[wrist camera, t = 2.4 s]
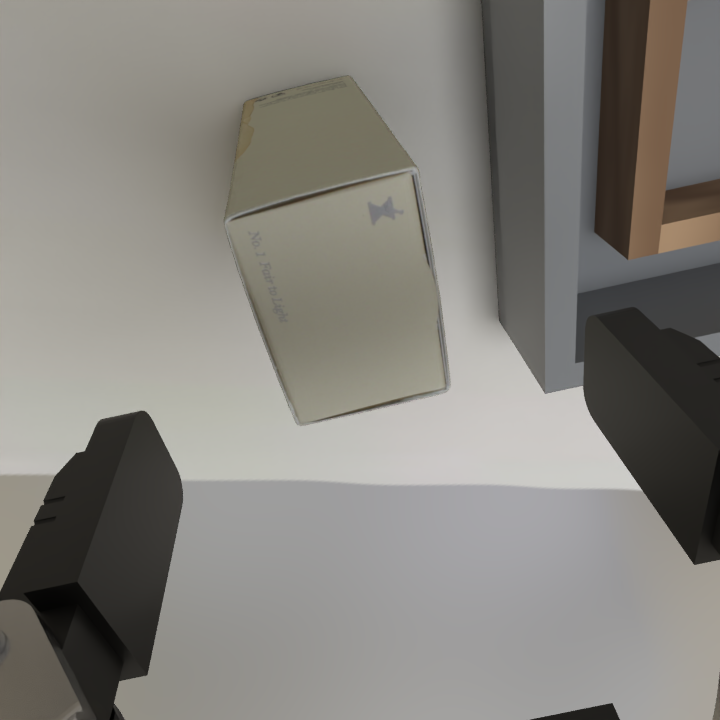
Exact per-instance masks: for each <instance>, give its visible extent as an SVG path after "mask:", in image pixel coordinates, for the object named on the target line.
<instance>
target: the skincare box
mask: <svg viewBox="0 0 720 720" xmlns="http://www.w3.org/2000/svg"><path fill="white" fill-rule="evenodd" d="M224 225H225V230H226V233H227V237H228V240H229V243H230V247H231V250H232V253H233V256H234V259H235V262H236V266H237V269H238V272H239V275H240V277H241V280H242V283H243V286H244V289H245V292H246V295H247V298H248V300H249V303H250V306H251V309H252V312H253V315H254V318H255V320H256V323H257V326H258V329H259V331H260V333H261V336H262V339H263V342H264V344H265V347H266V350H267V352H268V355H269V357H270V360H271V363H272V365H273V368H274V370H275V373H276V376H277V378H278V381H279V383H280V386H281V388H282V390H283V393H284V395H285V398H286V401H287V403H288V406H289V408H290V410H291V412H292V415H293V417H294V420H295V422H296V423H297V424H298V425H300V426H302V425H308V424H313V423H318V422H322V421H326V420H331V419H335V418H340V417H345V416H349V415H354V414H359V413H362V412H367V411H372V410H376V409H380V408H385V407H389V406H393V405H398V404H402V403H406V402H410V401H414V400H418V399H423V398H427V397H431V396H435V395H439V394H443V393H445V392H447V391H448V390H449V388H450V373H449V364H448V355H447V347H446V340H445V331H444V323H443V315H442V308H441V300H440V293H439V287H438V281H437V275H436V269H435V263H434V256H433V250H432V244H431V238H430V233H429V227H428V221H427V215H426V209H425V204H424V199H423V194H422V188H421V182H420V174H419V170H418V168H417V166H416V165H415V164H414V162H413V161H412V159H411V158H410V157H409V155H408V154H407V153H406V151H405V150H404V149H403V147H402V146H401V145H400V143H399V142H398V140H397V139H396V138H395V136H394V135H393V133H392V132H391V131H390V129H389V128H388V126H387V125H386V124H385V122H384V121H383V120H382V118H381V117H380V116H379V114H378V113H377V111H376V110H375V109H374V107H373V106H372V104H371V103H370V101H369V100H368V99H367V97H366V96H365V95H364V94H363V92H362V91H361V89H360V88H359V87H358V85H357V84H356V82H355V81H354V80H353V78H352V77H351V76H344V77H340V78H335V79H331V80H326V81H322V82H317V83H313V84H308V85H304V86H300V87H297V88H292V89H288V90H284V91H280V92H277V93H273V94H269V95H266V96H263V97H259V98H255V99H252V100H249V101H246V102H245V103H244V106H243V112H242V118H241V125H240V132H239V138H238V144H237V149H236V157H235V162H234V167H233V173H232V179H231V185H230V191H229V197H228V202H227V207H226V212H225V217H224Z"/></svg>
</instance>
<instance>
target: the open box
mask: <svg viewBox="0 0 720 720" xmlns="http://www.w3.org/2000/svg"><path fill="white" fill-rule="evenodd" d="M604 16H605V0H482V17H483V35H484V53H485V71H486V90H487V108H488V126H489V144H490V162H491V180H492V198H493V216H494V234H495V252H496V270H497V289H498V307H499V321H500V323H501V324H502V326H503V327H504V329H505V331H506V332H507V334H508V335H509V337H510V339H511V340H512V342H513V343H514V345H515V347H516V348H517V350H518V351H519V353H520V354H521V356H522V358H523V359H524V361H525V362H526V364H527V366H528V367H529V369H530V370H531V372H532V374H533V375H534V377H535V378H536V380H537V382H538V383H539V385H540V386H541V388H542V389H543V391H544V393H545V394H546V393H551V392H555V391H560V390H565V389H569V388H574V387H579V386H583V376H584V346H585V325H586V321H587V319H588V317H589V316H592V315H596V314H601V313H605V312H610V311H615V310H619V309H624V308H629V307H635V308H637V309H639V310H640V311H641V312H642V313H643V314H644V315H645V316H646V317H647V318H648V319H649V320H650V321H652V322H653V323H654V324H655V325H656V326H657V327H658V328H659V329H660V330H661V329H666V328H673V329H675V330H677V331H679V332H682V333H684V334H686V335H689V336H691V337H693V338H695V339H698V340H700V341H701V342H702V343H703V344H705V345H706V346H707V347H708V348H709V349H710V350H711V351H713V352H714V353H715V354H716V355H717V356H720V240H719V241H714V242H710V243H705V244H700V245H696V246H691V247H687V248H682V249H677V250H673V251H668V252H664V253H659V254H654V255H650V256H645V257H641V258H636V259H631V260H627V259H626V258H625V257H624V256H622V255H621V254H620V253H619V252H618V251H616V250H615V249H614V248H613V247H612V246H610V245H609V244H608V243H607V242H605V241H604V240H603V239H602V238H601V237H599V236H598V235H597V234H596V233H594V226H595V205H596V184H597V163H598V142H599V121H600V100H601V79H602V58H603V37H604ZM716 179H720V0H688V1H687V10H686V18H685V27H684V36H683V44H682V53H681V62H680V70H679V79H678V87H677V96H676V105H675V113H674V122H673V130H672V139H671V148H670V156H669V165H668V173H667V182H666V190H671V189H675V188H680V187H684V186H689V185H693V184H698V183H703V182H707V181H712V180H716Z"/></svg>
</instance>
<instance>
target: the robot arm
mask: <svg viewBox="0 0 720 720" xmlns="http://www.w3.org/2000/svg"><path fill="white" fill-rule="evenodd" d="M583 390H584V397H585V401H586V404H587V407H588V410H589V412H590V415H591V416H592V418H593V420H594V421H595V423H596V424H597V426H598V427H599V429H600V430H601V431H602V433H603V434H604V436H605V437H606V439H607V440H608V441H609V443H610V444H611V446H612V447H613V449H614V450H615V452H616V453H617V454H618V456H619V457H620V459H621V460H622V462H623V463H624V464H625V466H626V467H627V469H628V470H629V472H630V473H631V475H632V476H633V477H634V479H635V480H636V482H637V483H638V485H639V486H640V487H641V489H642V490H643V492H644V493H645V494H646V496H647V498H648V499H649V500H650V502H651V503H652V505H653V506H654V507H655V509H656V510H657V512H658V513H659V515H660V516H661V518H662V519H663V521H664V522H665V523H666V525H667V526H668V528H669V529H670V531H671V532H672V533H673V535H674V536H675V538H676V539H677V541H678V542H679V544H680V545H681V546H682V548H683V549H684V551H685V552H686V554H687V555H688V557H689V558H690V559H691V561H692V562H693V564H694V565H696V564H701V563H705V562H711V561H716V560H720V357H718V356H717V355H716V354H715V353H714V352H713V351H711V350H710V349H709V348H708V347H707V346H706V345H705V344H703V343H702V342H701V341H700V340H698V339H695V338H693V337H691V336H689V335H686V334H684V333H682V332H679V331H677V330H675V329H673V328H666V329H661V330H660V329H659V328H658V327H657V326H656V325H655V324H654V323H653V322H652V321H650V320H649V319H648V318H647V317H646V316H645V315H644V314H643V313H642V312H641V311H640V310H639V309H637V308H635V307H629V308H624V309H619V310H615V311H610V312H605V313H601V314H596V315H592V316H589V317H588V319H587V321H586V325H585V346H584V376H583ZM182 503H183V489H182V483H181V479H180V475H179V472H178V470H177V468H176V466H175V464H174V462H173V460H172V458H171V456H170V454H169V452H168V450H167V448H166V446H165V444H164V442H163V440H162V438H161V436H160V434H159V432H158V430H157V428H156V426H155V424H154V422H153V420H152V419H151V417H150V416H149V414H148V413H147V412H145V411H138V412H133V413H129V414H124V415H119V416H115V417H110V418H105V419H102V420H100V421H99V422H98V423H97V425H96V427H95V429H94V432H93V434H92V436H91V439H90V441H89V443H88V445H87V448H86V450H85V451H84V452H79V453H76V454H75V455H74V456H73V457H72V458H71V459H70V461H69V462H68V463H67V464H66V465H65V466H64V467H63V468H62V469H61V470H60V471H59V473H58V474H57V475H56V476H55V477H54V479H53V482H52V484H51V486H50V488H49V490H48V492H47V494H46V496H45V498H44V505H42V506H41V507H40V509H39V511H38V513H37V515H36V517H35V519H34V523H35V525H34V526H31V528H30V530H29V532H28V534H27V537H26V538H25V541H24V543H23V545H22V547H21V549H20V551H19V553H18V555H17V558H16V559H15V562H14V564H13V566H12V568H11V570H10V572H9V574H8V576H7V578H6V581H5V583H4V585H3V587H2V589H1V591H0V720H125V719H124V717H123V716H122V714H121V712H120V711H119V709H118V708H117V706H116V705H115V704H114V700H115V696H116V691H117V688H118V683H119V681H122V680H126V679H131V678H136V677H141V676H146V675H147V674H148V670H149V665H150V660H151V655H152V650H153V645H154V640H155V635H156V631H157V625H158V621H159V615H160V611H161V606H162V601H163V596H164V592H165V587H166V582H167V577H168V572H169V567H170V562H171V558H172V552H173V548H174V543H175V538H176V533H177V528H178V523H179V518H180V513H181V509H182ZM531 720H620V719H619V717H618V715H617V712H616V710H615V708H614V706H613V704H612V703H611V704H606V705H600V706H595V707H591V708H586V709H581V710H576V711H571V712H566V713H561V714H556V715H551V716H546V717H541V718H536V719H531ZM713 720H720V675H719V684H718V691H717V698H716V704H715V710H714V715H713Z"/></svg>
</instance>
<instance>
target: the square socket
mask: <svg viewBox="0 0 720 720" xmlns="http://www.w3.org/2000/svg"><path fill="white" fill-rule="evenodd" d="M687 1H688V0H605V16H604V37H603V58H602V79H601V100H600V121H599V142H598V163H597V184H596V205H595V226H594V233H596V234H597V235H598V236H599V237H601V238H602V239H603V240H604V241H605V242H607V243H608V244H609V245H610V246H612V247H613V248H614V249H615V250H616V251H618V252H619V253H620V254H621V255H622V256H624V257H625V258H626V259H627V260H631V259H636V258H641V257H645V256H650V255H654V254H659V253H664V252H668V251H673V250H677V249H682V248H687V247H691V246H696V245H700V244H705V243H710V242H714V241H719V240H720V179H716V180H712V181H707V182H703V183H698V184H693V185H689V186H684V187H680V188H675V189H671V190H666V182H667V173H668V165H669V156H670V148H671V139H672V130H673V122H674V113H675V105H676V96H677V87H678V79H679V70H680V62H681V53H682V44H683V36H684V27H685V18H686V10H687Z"/></svg>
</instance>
